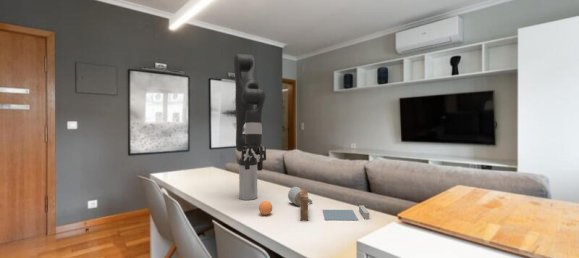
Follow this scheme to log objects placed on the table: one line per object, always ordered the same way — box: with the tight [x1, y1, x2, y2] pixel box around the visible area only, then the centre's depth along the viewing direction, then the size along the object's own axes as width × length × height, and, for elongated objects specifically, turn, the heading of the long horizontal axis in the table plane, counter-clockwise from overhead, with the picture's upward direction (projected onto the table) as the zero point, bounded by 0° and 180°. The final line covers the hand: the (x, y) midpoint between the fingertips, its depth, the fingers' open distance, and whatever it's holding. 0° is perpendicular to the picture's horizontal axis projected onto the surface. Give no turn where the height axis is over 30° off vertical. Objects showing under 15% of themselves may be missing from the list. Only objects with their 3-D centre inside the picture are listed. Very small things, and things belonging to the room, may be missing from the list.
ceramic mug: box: [287, 186, 313, 207], centre depth 130 cm, size 11×8×8 cm
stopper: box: [358, 205, 370, 220], centre depth 113 cm, size 2×10×2 cm, turn 177°
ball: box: [258, 200, 273, 216], centre depth 115 cm, size 6×6×6 cm
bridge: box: [299, 187, 309, 222], centre depth 114 cm, size 3×15×9 cm, turn 177°
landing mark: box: [322, 209, 359, 221], centre depth 114 cm, size 13×13×1 cm
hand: (253, 170), depth 122 cm, fingers open, 8 cm apart
